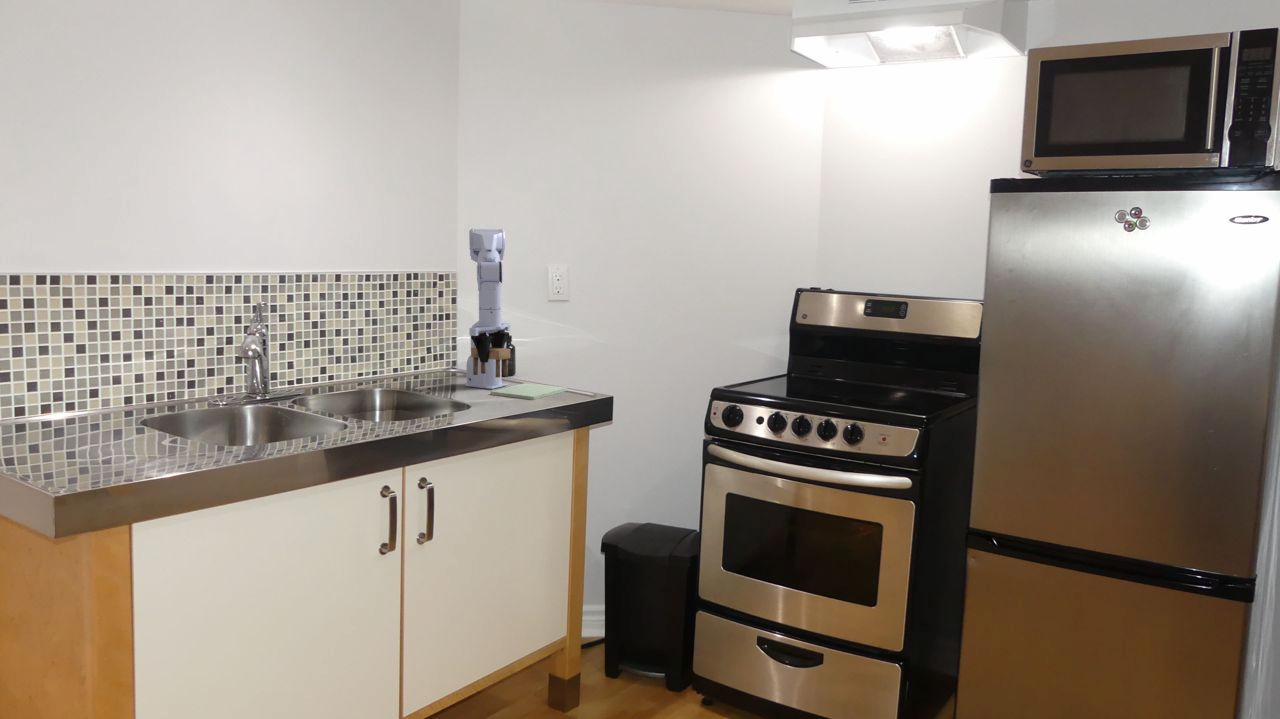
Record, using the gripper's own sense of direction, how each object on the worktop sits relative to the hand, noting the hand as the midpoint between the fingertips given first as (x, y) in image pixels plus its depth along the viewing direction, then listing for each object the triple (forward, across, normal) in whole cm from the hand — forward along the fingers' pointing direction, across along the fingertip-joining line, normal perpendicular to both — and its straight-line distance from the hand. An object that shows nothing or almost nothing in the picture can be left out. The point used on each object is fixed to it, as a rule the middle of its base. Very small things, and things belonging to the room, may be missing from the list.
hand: (490, 360), depth 250 cm
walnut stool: (+4, 0, 0) cm, 4 cm away
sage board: (+10, +14, -2) cm, 18 cm away
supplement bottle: (+11, +34, +21) cm, 41 cm away
